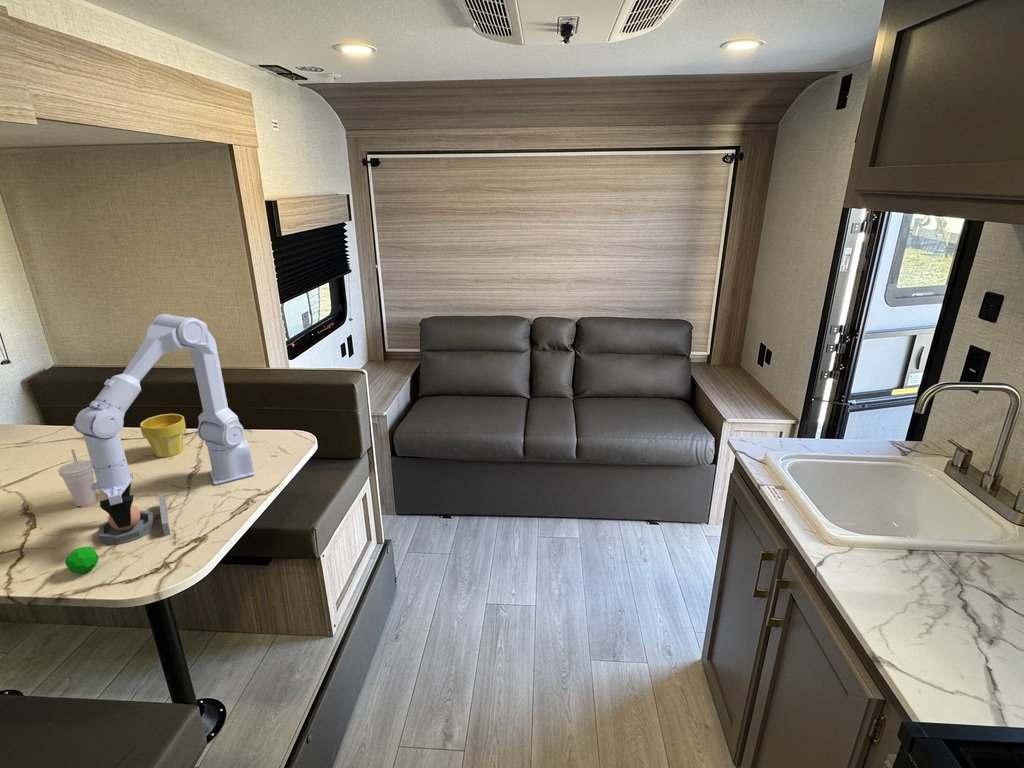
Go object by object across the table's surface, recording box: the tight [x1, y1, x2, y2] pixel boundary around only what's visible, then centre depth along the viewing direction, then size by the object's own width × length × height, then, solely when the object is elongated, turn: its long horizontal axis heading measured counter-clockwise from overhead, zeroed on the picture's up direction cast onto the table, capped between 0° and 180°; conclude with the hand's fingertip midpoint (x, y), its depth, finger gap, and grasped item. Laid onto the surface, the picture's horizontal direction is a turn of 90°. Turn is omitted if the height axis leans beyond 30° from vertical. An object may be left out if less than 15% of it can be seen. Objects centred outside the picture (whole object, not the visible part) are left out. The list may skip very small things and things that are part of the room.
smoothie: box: [57, 449, 97, 507], centre depth 123 cm, size 6×6×14 cm
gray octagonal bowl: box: [98, 510, 157, 546], centre depth 116 cm, size 10×10×2 cm
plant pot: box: [139, 413, 186, 458], centre depth 148 cm, size 10×10×10 cm
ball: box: [108, 504, 141, 531], centre depth 115 cm, size 6×6×6 cm
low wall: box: [158, 493, 171, 537], centre depth 119 cm, size 1×14×3 cm, turn 35°
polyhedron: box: [64, 546, 100, 575], centre depth 103 cm, size 5×5×5 cm
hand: (124, 517), depth 115 cm, fingers open, 7 cm apart
